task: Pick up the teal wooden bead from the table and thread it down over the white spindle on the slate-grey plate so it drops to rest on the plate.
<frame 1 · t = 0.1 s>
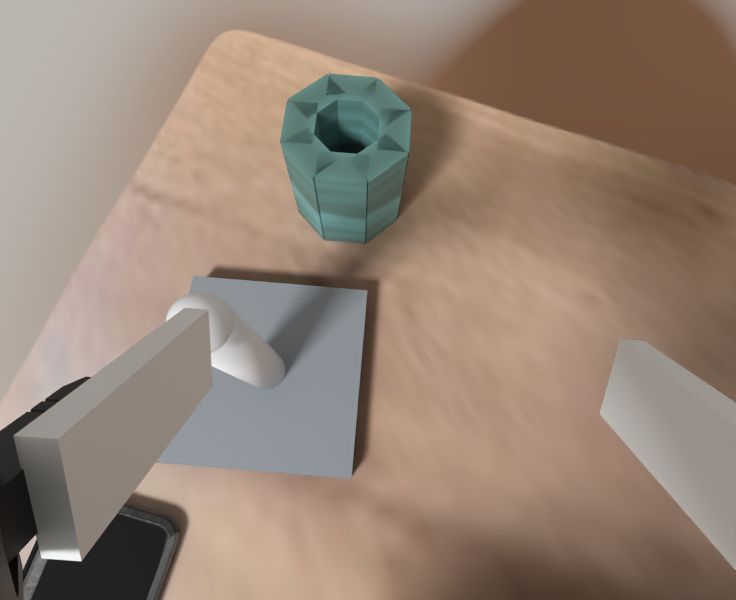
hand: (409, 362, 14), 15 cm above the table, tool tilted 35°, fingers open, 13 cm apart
spindle plate: (271, 373, 29), on the table
bead: (349, 197, 33), on the table
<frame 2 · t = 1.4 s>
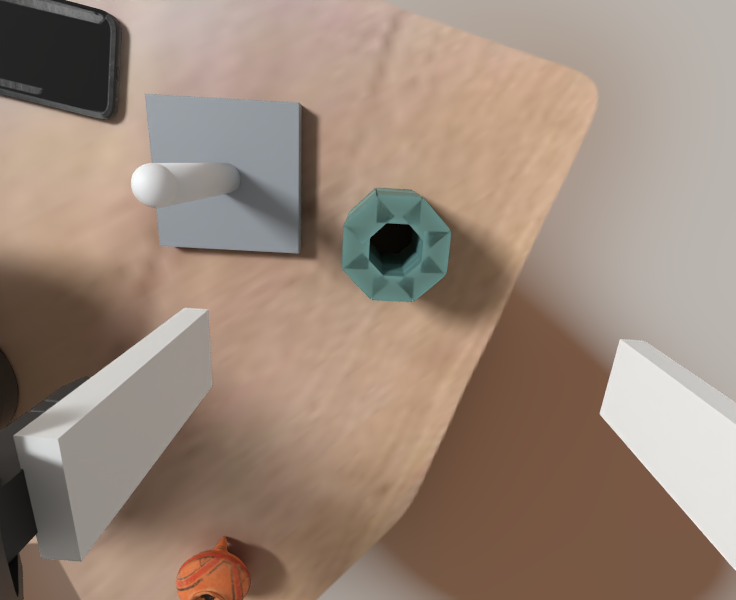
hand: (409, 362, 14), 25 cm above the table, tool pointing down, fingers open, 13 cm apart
phone: (29, 49, 34), on the table
pot: (223, 554, 50), on the table
spindle plate: (231, 177, 36), on the table
bead: (390, 232, 38), on the table
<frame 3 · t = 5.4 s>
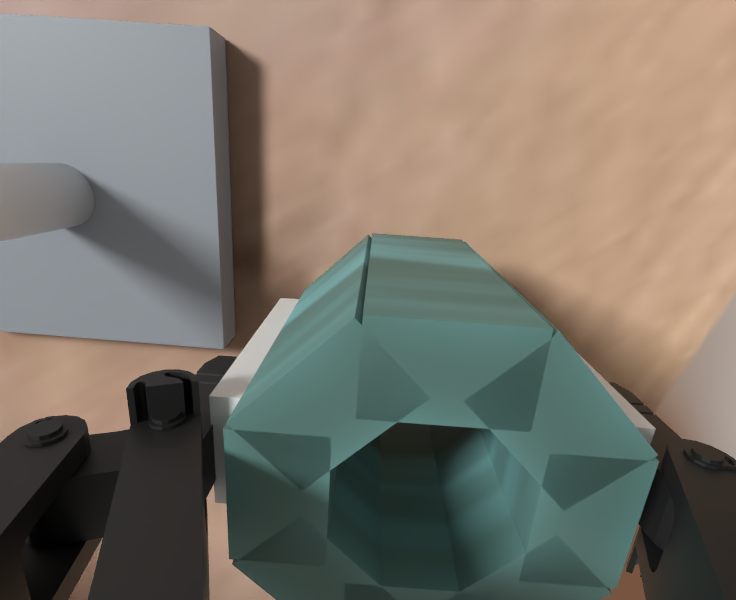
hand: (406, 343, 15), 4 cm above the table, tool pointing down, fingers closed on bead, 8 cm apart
spindle plate: (89, 192, 18), on the table
bead: (406, 340, 15), point 3 cm above the table, touching gripper
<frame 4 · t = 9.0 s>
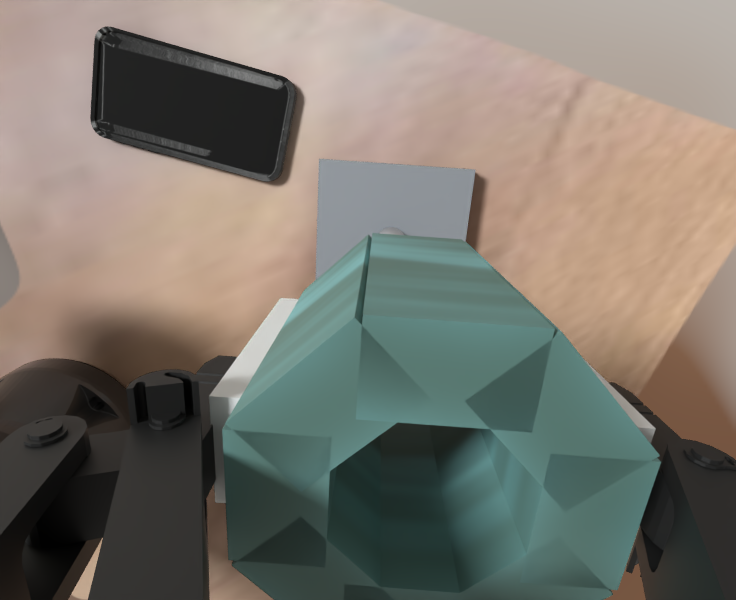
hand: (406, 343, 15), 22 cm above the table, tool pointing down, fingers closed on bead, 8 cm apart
phone: (197, 110, 34), on the table
spindle plate: (390, 238, 36), on the table
bead: (406, 340, 15), point 21 cm above the table, touching gripper
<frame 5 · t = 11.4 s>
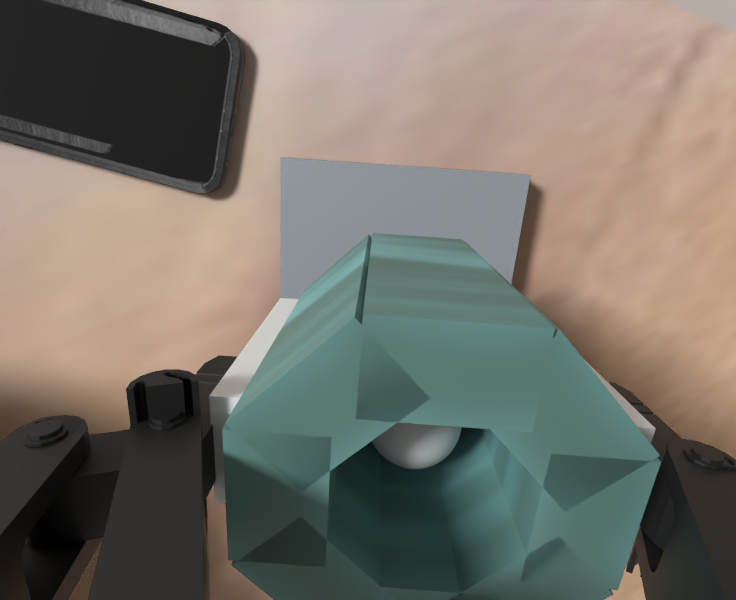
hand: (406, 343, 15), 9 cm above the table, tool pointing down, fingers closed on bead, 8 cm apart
phone: (92, 81, 21), on the table
spindle plate: (393, 278, 24), on the table
bead: (406, 340, 15), point 9 cm above the table, touching gripper
when the fingers open (5 cm above the table, at t = 13.1 s): bead drops 3 cm, resting on spindle plate.
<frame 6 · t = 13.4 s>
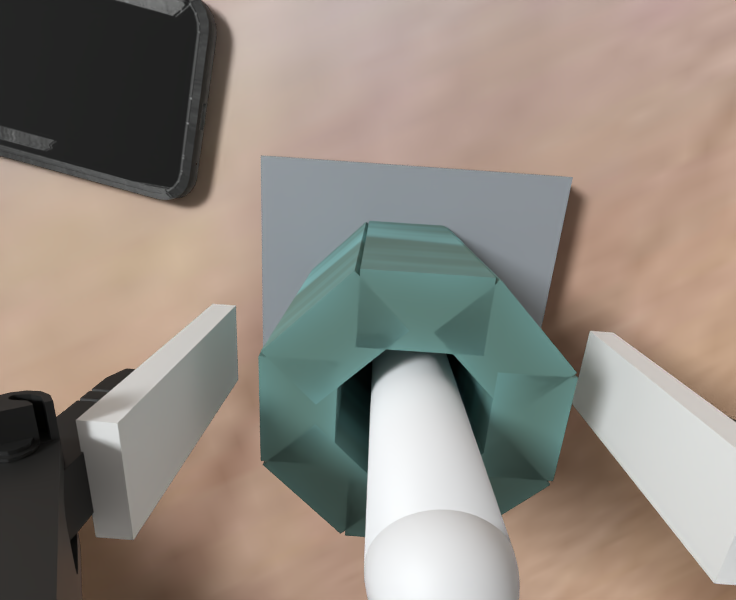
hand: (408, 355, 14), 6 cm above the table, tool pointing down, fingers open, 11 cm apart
phone: (31, 62, 17), on the table
spindle plate: (400, 301, 20), on the table
bead: (398, 312, 18), point 1 cm above the table, touching spindle plate
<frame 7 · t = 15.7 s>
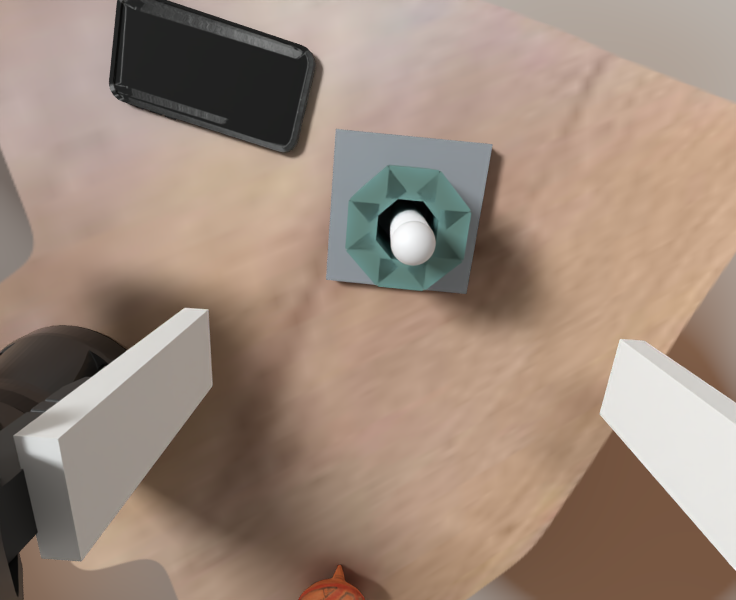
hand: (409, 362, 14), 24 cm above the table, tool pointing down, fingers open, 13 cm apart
phone: (216, 78, 34), on the table
pot: (335, 581, 49), on the table
spindle plate: (403, 213, 36), on the table
bead: (402, 215, 34), point 1 cm above the table, touching spindle plate
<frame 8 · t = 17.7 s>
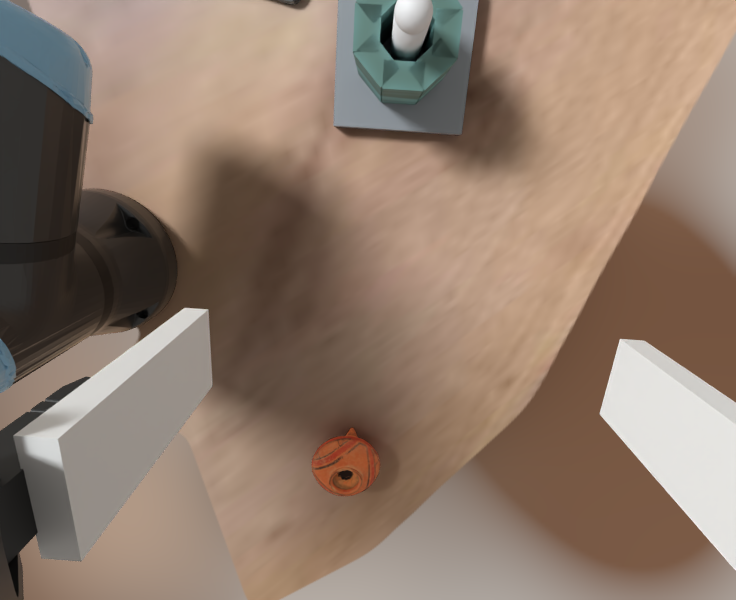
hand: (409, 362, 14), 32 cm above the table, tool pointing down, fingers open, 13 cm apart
pot: (348, 446, 53), on the table
spindle plate: (402, 61, 39), on the table
bead: (401, 57, 38), point 1 cm above the table, touching spindle plate
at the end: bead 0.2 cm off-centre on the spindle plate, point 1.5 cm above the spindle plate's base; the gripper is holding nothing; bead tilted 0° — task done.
